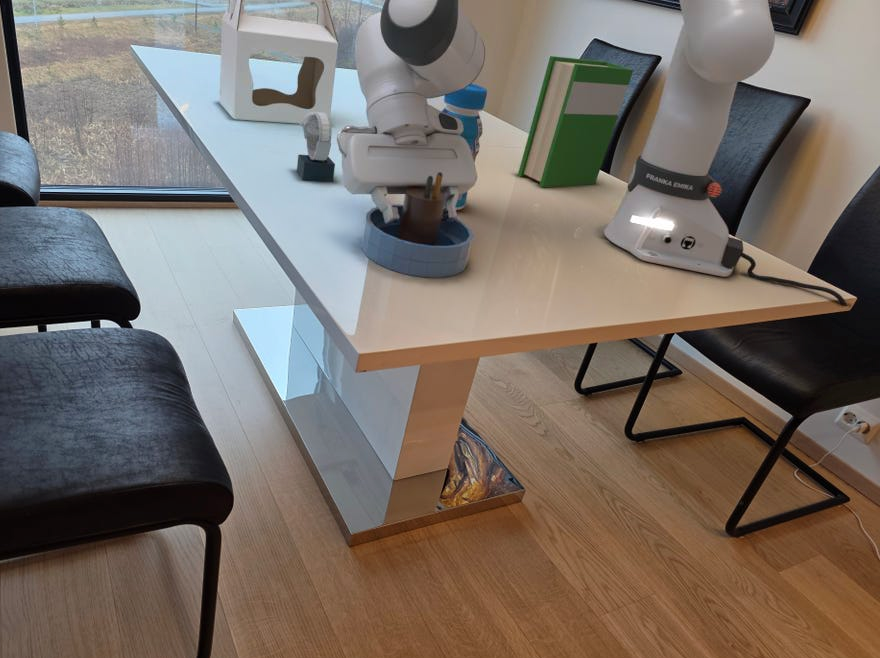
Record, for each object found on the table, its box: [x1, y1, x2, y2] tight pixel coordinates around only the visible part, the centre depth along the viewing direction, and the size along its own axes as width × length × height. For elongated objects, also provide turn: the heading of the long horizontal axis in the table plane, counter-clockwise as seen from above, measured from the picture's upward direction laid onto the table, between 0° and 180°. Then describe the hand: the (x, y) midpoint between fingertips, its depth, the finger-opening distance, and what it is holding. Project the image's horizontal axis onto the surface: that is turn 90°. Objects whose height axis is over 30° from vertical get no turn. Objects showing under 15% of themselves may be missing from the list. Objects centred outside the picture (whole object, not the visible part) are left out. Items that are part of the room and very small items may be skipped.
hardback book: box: [517, 55, 634, 189], centre depth 140 cm, size 18×7×24 cm, turn 126°
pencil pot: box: [397, 172, 446, 246], centre depth 92 cm, size 6×6×12 cm
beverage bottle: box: [441, 83, 488, 211], centre depth 114 cm, size 8×8×20 cm
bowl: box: [361, 204, 474, 279], centre depth 95 cm, size 15×15×5 cm
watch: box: [296, 112, 336, 182], centre depth 116 cm, size 6×8×11 cm
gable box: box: [219, 0, 339, 125], centre depth 144 cm, size 22×13×28 cm, turn 115°
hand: (422, 221), depth 93 cm, fingers open, 8 cm apart
